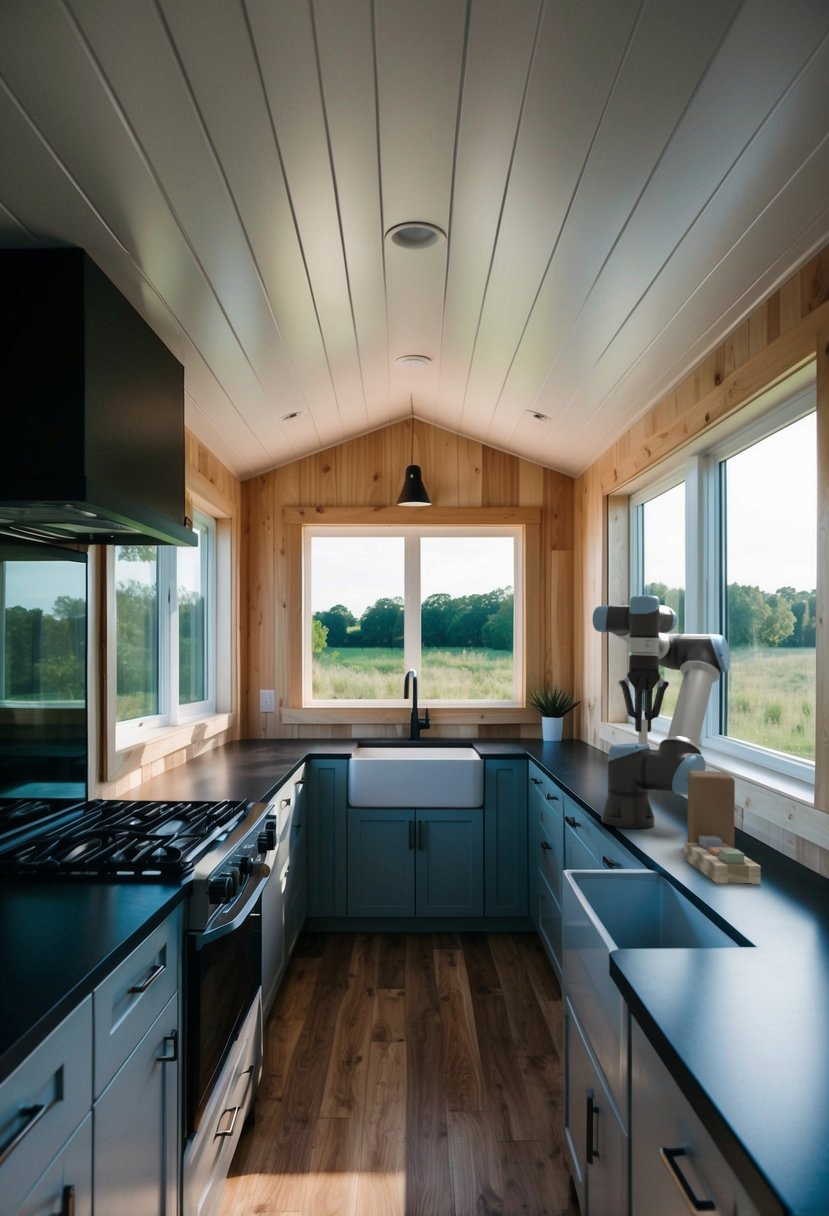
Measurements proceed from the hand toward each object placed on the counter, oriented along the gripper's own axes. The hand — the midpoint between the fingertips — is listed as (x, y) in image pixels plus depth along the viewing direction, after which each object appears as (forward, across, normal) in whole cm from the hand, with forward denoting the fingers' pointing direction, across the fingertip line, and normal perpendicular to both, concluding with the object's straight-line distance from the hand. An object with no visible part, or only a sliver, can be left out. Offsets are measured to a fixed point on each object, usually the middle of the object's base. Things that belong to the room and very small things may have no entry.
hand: (642, 744), depth 205 cm
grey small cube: (+24, +12, -15) cm, 31 cm away
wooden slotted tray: (+26, +12, -21) cm, 36 cm away
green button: (+24, +12, -27) cm, 38 cm away
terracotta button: (+25, +12, -21) cm, 35 cm away
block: (+27, +16, -5) cm, 31 cm away
